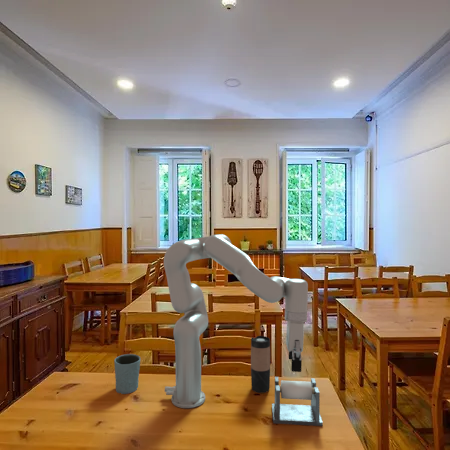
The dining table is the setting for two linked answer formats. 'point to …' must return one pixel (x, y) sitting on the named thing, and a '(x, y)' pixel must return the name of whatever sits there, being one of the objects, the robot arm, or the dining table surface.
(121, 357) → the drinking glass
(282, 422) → the roll holder
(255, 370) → the travel mug
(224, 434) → the dining table surface
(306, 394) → the paper roll
